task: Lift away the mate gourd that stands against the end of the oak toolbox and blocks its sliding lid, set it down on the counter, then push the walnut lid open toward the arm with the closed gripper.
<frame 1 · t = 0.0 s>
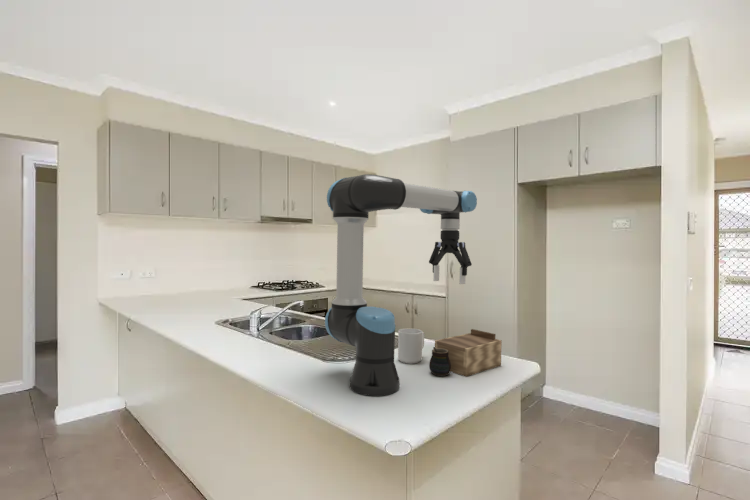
hand: (448, 282, 161), 28 cm above the table, fingers open, 13 cm apart
mug: (412, 360, 148), on the table
lid: (468, 339, 142), point 10 cm above the table, slide at 0.0 cm
toolbox: (467, 365, 142), on the table
mate gourd: (439, 374, 133), on the table
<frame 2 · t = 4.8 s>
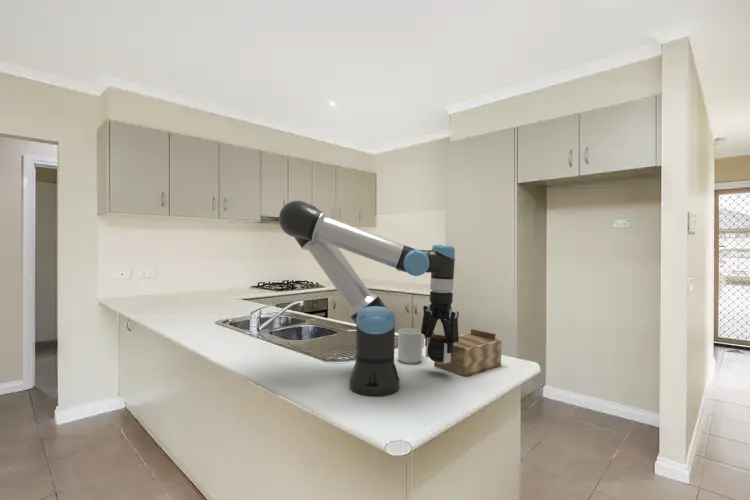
hand: (437, 359, 133), 5 cm above the table, fingers closed on mate gourd, 7 cm apart
mate gourd: (437, 360, 133), point 4 cm above the table, touching gripper
everything else where it was.
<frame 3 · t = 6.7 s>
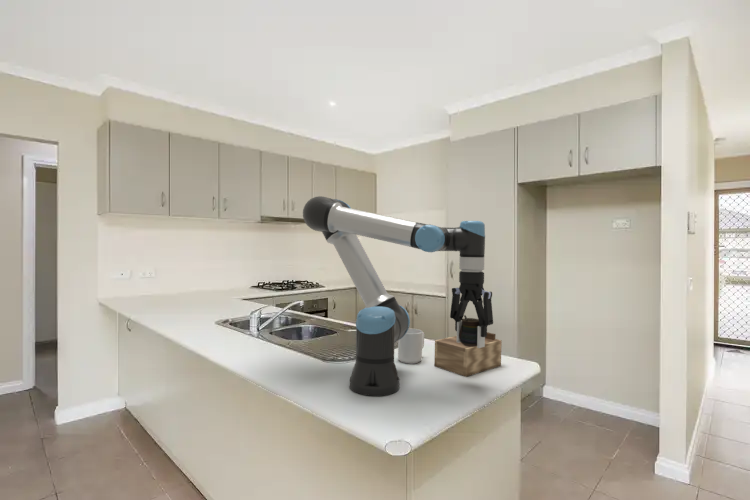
hand: (470, 344, 123), 13 cm above the table, fingers closed on mate gourd, 7 cm apart
mate gourd: (470, 346, 123), point 12 cm above the table, touching gripper
everything else where it was.
when the fingers open (1 cm above the table, at t = 8.7 s): mate gourd stays where it is, on the table.
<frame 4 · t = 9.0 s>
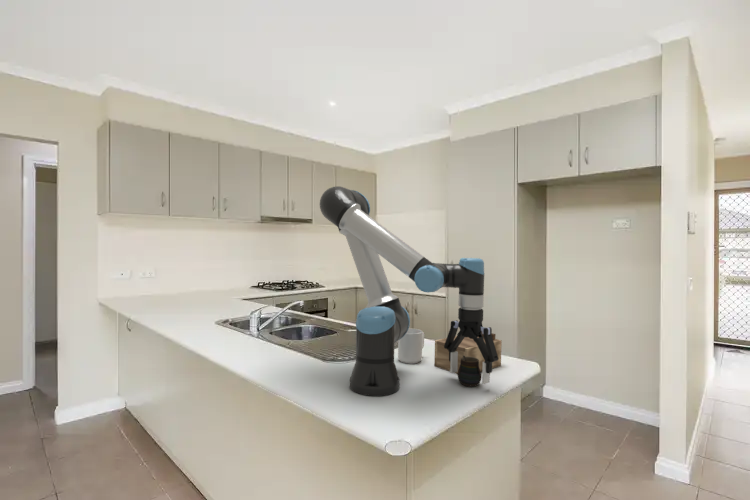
hand: (469, 377, 123), 2 cm above the table, fingers open, 11 cm apart
mate gourd: (469, 385, 124), on the table
everything else where it was.
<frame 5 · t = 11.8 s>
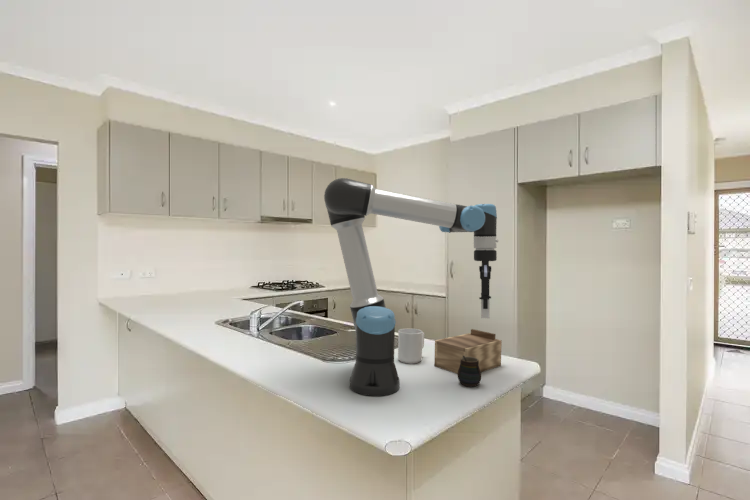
hand: (485, 317, 137), 18 cm above the table, fingers closed
nothing on the table moved.
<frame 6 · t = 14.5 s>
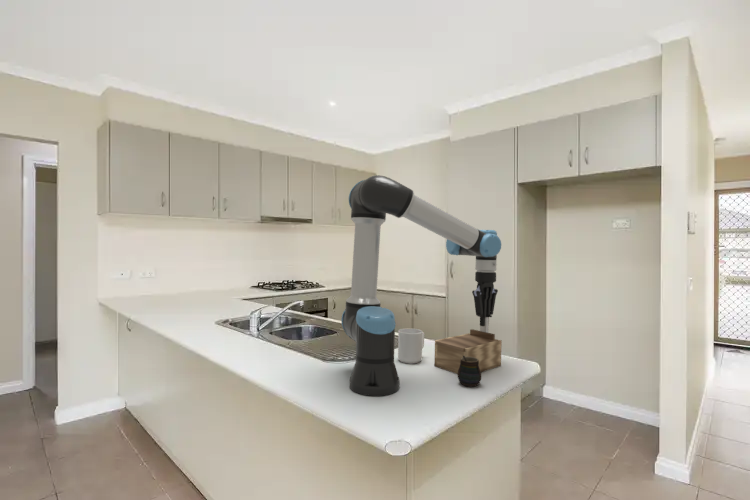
hand: (484, 334, 148), 10 cm above the table, fingers closed
lid: (467, 339, 142), point 10 cm above the table, slide at 0.4 cm, touching gripper
everything else where it was.
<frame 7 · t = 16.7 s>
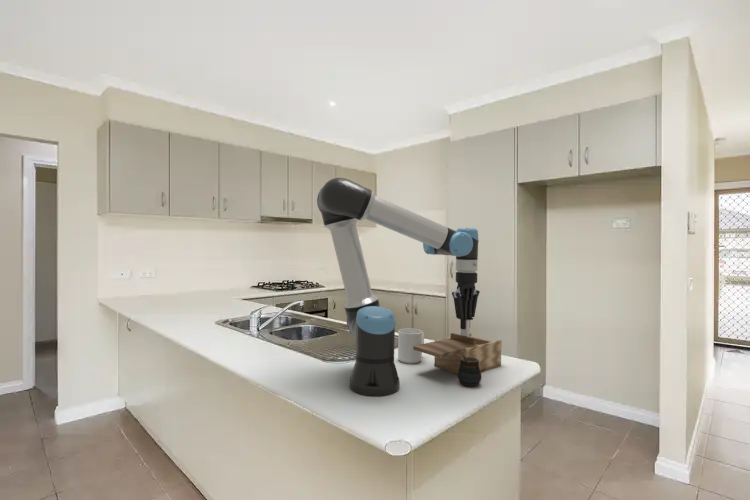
hand: (465, 337, 141), 10 cm above the table, fingers closed
lid: (446, 344, 135), point 10 cm above the table, slide at 11.8 cm, touching gripper
everything else where it was.
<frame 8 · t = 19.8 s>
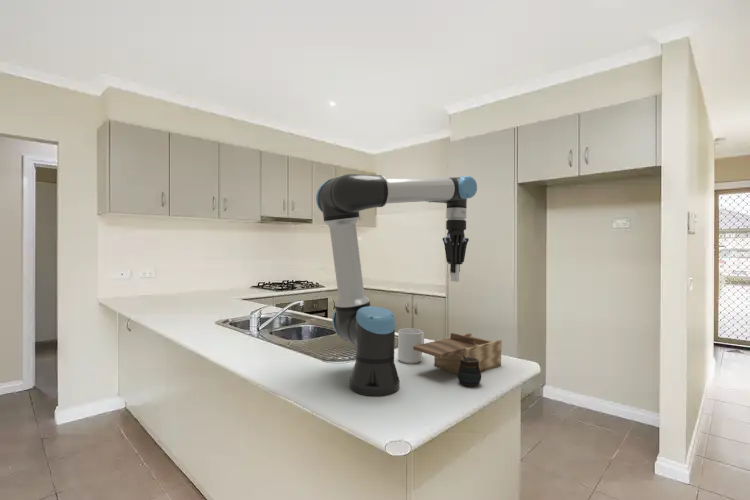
hand: (454, 281, 152), 29 cm above the table, fingers closed
lid: (446, 344, 135), point 10 cm above the table, slide at 11.8 cm
everything else where it was.
at the end: lid slide at 11.8 cm; mate gourd inside the target area (0.0 cm from its centre), on the table; mate gourd tilted 0° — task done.
